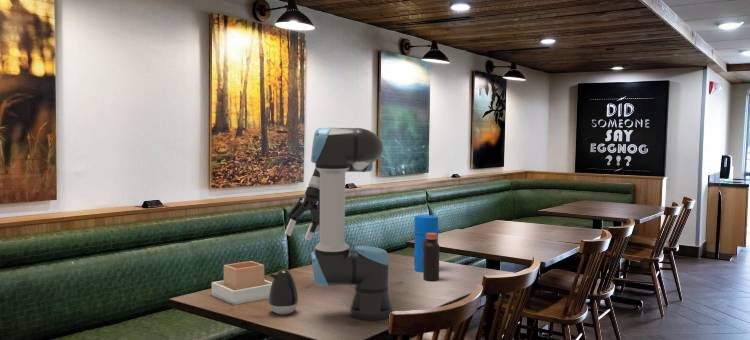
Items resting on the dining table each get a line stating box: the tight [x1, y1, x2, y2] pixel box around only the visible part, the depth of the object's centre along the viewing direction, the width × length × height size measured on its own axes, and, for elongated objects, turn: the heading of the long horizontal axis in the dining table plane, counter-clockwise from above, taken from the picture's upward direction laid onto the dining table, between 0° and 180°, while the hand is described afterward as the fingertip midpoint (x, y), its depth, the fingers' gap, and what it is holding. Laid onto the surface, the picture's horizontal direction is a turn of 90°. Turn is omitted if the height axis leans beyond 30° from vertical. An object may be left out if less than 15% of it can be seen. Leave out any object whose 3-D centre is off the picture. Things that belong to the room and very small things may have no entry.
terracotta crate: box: [223, 260, 265, 291], centre depth 230 cm, size 10×12×11 cm
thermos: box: [413, 214, 439, 273], centre depth 275 cm, size 11×11×25 cm
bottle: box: [422, 233, 440, 282], centre depth 258 cm, size 7×7×20 cm
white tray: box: [211, 279, 273, 306], centre depth 230 cm, size 18×18×5 cm
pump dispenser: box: [268, 269, 299, 315], centre depth 209 cm, size 10×10×15 cm
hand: (297, 237), depth 240 cm, fingers open, 13 cm apart
